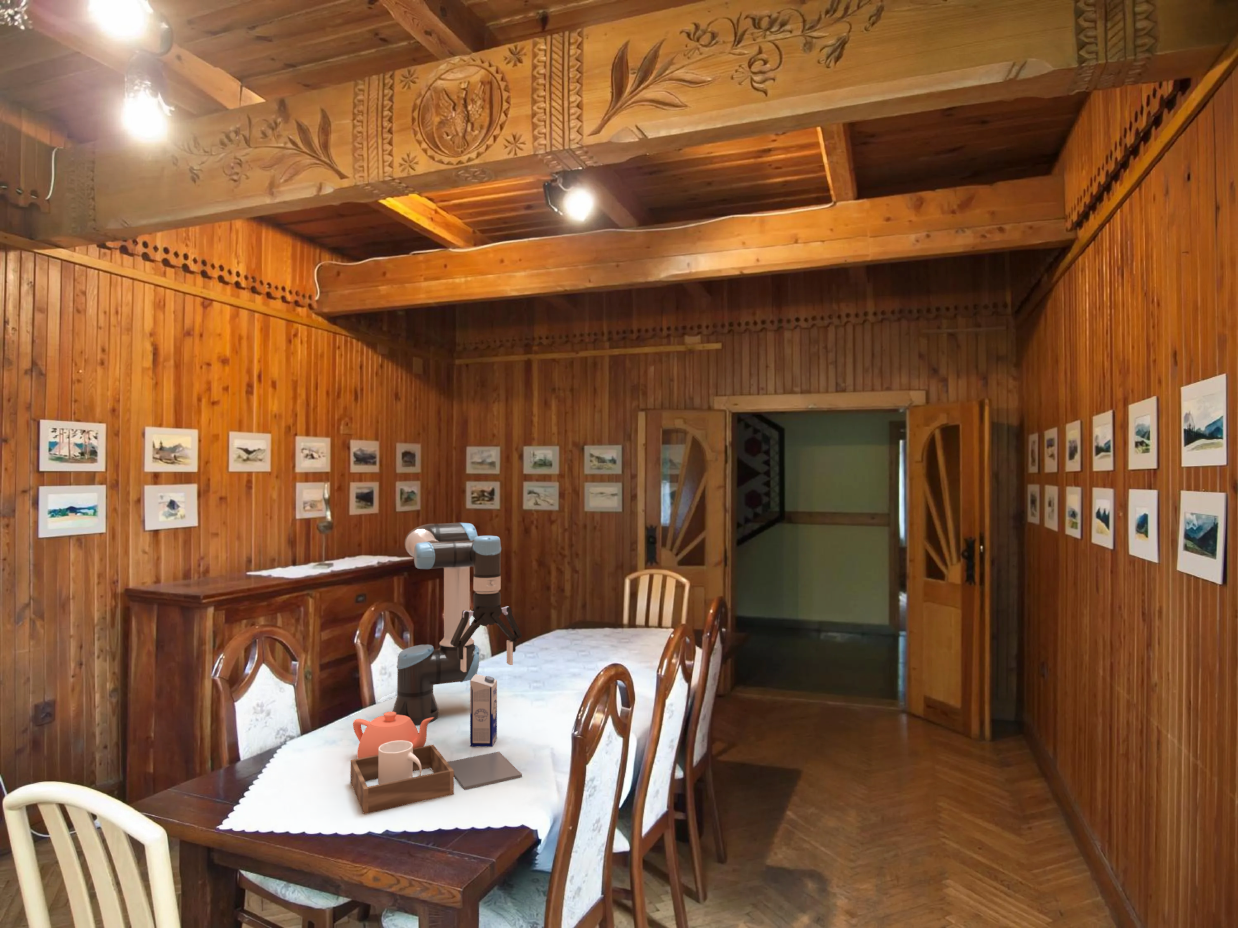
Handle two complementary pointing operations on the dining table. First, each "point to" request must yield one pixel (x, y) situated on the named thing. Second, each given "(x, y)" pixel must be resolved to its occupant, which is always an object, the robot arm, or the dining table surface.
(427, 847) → the dining table surface
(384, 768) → the mug
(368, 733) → the teapot
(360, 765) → the walnut caddy
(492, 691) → the milk carton
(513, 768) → the slate trivet
